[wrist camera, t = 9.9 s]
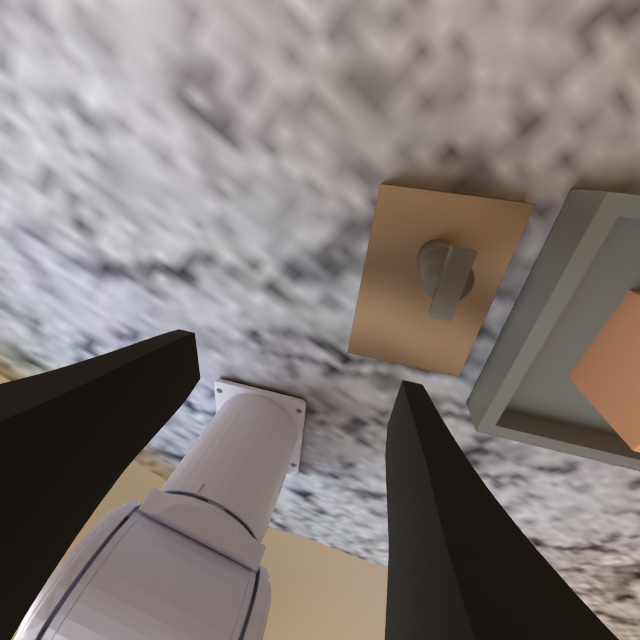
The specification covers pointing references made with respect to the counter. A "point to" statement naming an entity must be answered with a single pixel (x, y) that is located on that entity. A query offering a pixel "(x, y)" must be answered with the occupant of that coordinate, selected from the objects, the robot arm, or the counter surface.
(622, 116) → the counter surface
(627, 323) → the collar
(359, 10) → the counter surface
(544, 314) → the tray
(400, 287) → the stake board
